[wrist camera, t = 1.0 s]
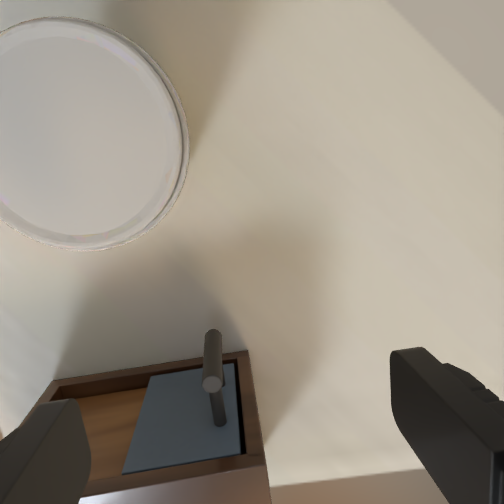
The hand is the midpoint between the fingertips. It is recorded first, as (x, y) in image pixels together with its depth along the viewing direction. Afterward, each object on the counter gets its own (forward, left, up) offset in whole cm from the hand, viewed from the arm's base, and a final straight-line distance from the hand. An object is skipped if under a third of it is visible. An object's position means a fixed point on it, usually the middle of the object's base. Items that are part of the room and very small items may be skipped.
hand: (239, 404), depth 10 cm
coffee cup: (-7, -5, -20) cm, 22 cm away
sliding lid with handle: (+8, -4, -19) cm, 21 cm away
